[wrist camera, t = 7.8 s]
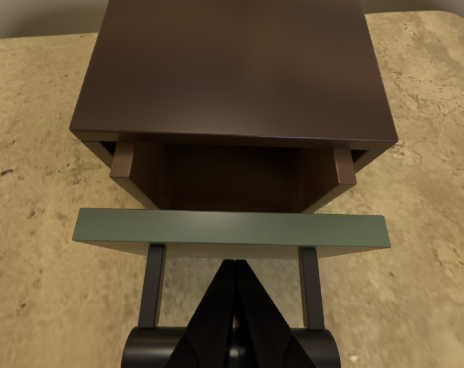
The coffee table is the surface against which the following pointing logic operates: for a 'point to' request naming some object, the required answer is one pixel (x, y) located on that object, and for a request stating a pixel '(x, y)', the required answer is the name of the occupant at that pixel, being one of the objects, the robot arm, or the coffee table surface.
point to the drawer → (229, 225)
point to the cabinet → (235, 77)
